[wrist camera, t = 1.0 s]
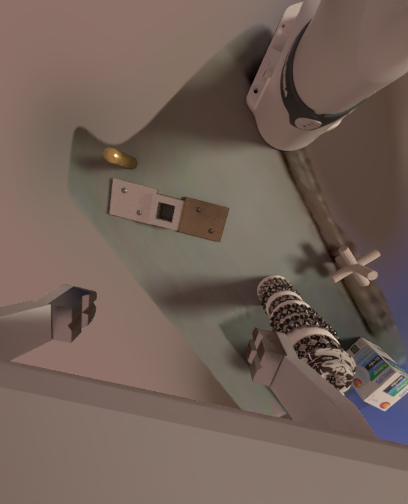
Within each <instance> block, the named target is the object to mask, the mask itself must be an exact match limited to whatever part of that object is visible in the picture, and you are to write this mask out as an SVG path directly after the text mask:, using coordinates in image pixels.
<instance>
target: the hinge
mask: <svg viewBox="0 0 408 504" xmlns="http://www.w3.org/2000/svg"><path fill="white" fill-rule="evenodd" d="M158 192H159V190H158V189H154V188H150V187H146V186H142V185H139V184H135V183H131V182H127V181H123V180H119V179H115V178H113V184H112V194H111V204H110V214H111V215H115V216H119V217H123V218H127V219H131V220H135V221H139V222H143V223H147V224H151V225H152V224H153V225H157V226H161V227H165V228H169V229H173V230H176V231H177V230H178V229H179V232H182V233H186V234H190V235H194V236H198V237H202V238H206V239H210V240H214V241H218V242H220V240H221V237H222V233H223V230H224V226H225V222H226V219H227V215H228V212H229V208H227V207H223V206H219V205H216V204H212V203H208V202H204V201H200V200H196V199H192V198H189V197H186V199H185V200H182V199H178V198H174V197H170V196H166V195H163V194H159V193H158ZM163 203H165V204H169V205H173V206H175V210H174V215H173V220H172V219H168V218H164V217H160V216H161V211H162V205H163Z"/></svg>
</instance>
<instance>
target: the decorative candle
mask: <svg viewBox="0 0 408 504" xmlns="http://www.w3.org/2000/svg"><path fill="white" fill-rule="evenodd" d="M257 295H258V298H259V299H260V302H261V303H262V306H264V307H263V309H264V310H265V313H266V314H267V315H268V316H269V318H270V326H271V327H272V328H273V331H277V332H282V333H285V334H286V335H287V337H288V339H289V341H290V343H291V345H292V347H293V348H294V350H295V352H296V354H297V356H298V358H299V359H302V360H303V361H304V362H306V363H307V364H308V365H309V366H310V367H311V368H313V369H314V370H315V371H316V372H317V373H318V374H319V375H321V376H322V377H323V378H324V379H325V380H326V381H328V382H329V383H330V384H331V385H332V386H333V387H335V388H336V389H337V390H338V391H339V392H340V393H343V392H345V391H346V390H348V389H349V387H350V386H351V384H352V383H353V377H354V375H355V371H356V364H355V362H354V359H353V357H352V356H350V355H349V354H348V353H346V352H345V351H344V350H343V348H342V347H341V346H340V345H339V344H340V343H341V340H340V339H339V338H338V337H336V336H337V332H336V331H335V330H332V329H331V326H330V325H329V324H326V323H325V321H324V320H323V318H322V317H320V316H319V314H318V313H317V312H314V310H313V308H311V307H310V306H309V305H308V304H306V303H305V302H303V300H302V299H301V297H300V294H299V293H297V290H294V287H293V286H292V285H291V283H289V282H288V281H287V280H286V279H285V278H284V277H282V276H278V275H272V276H268V277H266V278H264V279H263V280H262V281H261V282H260V283H259V285H258V288H257ZM327 330H328V331H329V332H328V331H327Z"/></svg>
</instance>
